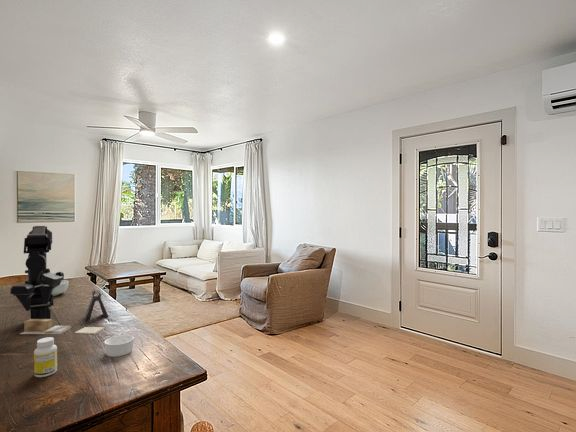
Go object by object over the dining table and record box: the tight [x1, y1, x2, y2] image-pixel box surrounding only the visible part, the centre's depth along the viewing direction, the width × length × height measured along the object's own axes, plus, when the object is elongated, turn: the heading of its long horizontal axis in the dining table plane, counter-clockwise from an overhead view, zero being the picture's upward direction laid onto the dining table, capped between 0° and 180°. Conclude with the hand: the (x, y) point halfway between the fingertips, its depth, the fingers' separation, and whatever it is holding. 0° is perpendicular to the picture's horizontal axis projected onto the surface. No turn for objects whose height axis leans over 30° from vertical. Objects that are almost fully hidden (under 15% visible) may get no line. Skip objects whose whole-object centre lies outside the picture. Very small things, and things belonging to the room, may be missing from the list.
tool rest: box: [19, 326, 72, 335], centre depth 126 cm, size 15×7×1 cm, turn 91°
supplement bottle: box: [33, 336, 58, 378], centre depth 95 cm, size 5×5×10 cm
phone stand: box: [84, 289, 109, 322], centre depth 143 cm, size 9×6×12 cm, turn 123°
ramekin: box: [104, 334, 135, 358], centre depth 109 cm, size 9×9×4 cm
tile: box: [74, 326, 106, 335], centre depth 127 cm, size 2×6×8 cm
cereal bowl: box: [51, 279, 70, 297], centre depth 181 cm, size 17×17×7 cm
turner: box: [23, 318, 72, 334], centre depth 126 cm, size 15×6×4 cm, turn 91°
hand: (37, 307), depth 126 cm, fingers open, 9 cm apart
